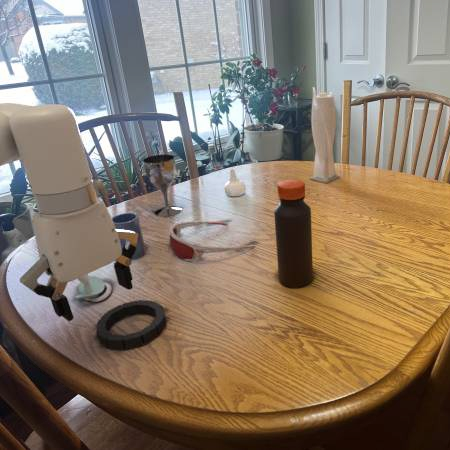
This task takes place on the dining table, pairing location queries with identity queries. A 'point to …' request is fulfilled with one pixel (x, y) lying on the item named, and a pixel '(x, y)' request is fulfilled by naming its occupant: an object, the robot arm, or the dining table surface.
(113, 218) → the cup
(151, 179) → the wine glass
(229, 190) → the garlic bulb
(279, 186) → the bottle
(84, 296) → the pacifier
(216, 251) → the sunglasses
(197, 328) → the dining table surface
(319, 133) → the skyscraper
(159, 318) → the ring
